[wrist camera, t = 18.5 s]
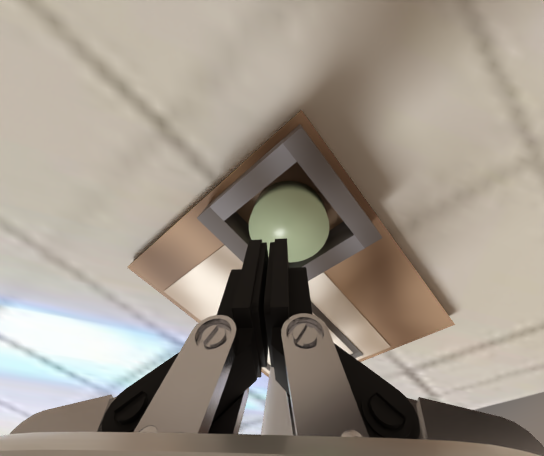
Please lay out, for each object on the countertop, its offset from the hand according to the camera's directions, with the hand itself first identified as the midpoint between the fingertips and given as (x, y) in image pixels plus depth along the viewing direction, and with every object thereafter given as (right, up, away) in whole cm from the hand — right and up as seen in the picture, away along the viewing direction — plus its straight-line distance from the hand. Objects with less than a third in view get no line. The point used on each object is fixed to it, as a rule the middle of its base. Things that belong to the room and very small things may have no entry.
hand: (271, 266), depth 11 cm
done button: (+1, +3, +5) cm, 6 cm away
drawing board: (+2, -4, +10) cm, 10 cm away
